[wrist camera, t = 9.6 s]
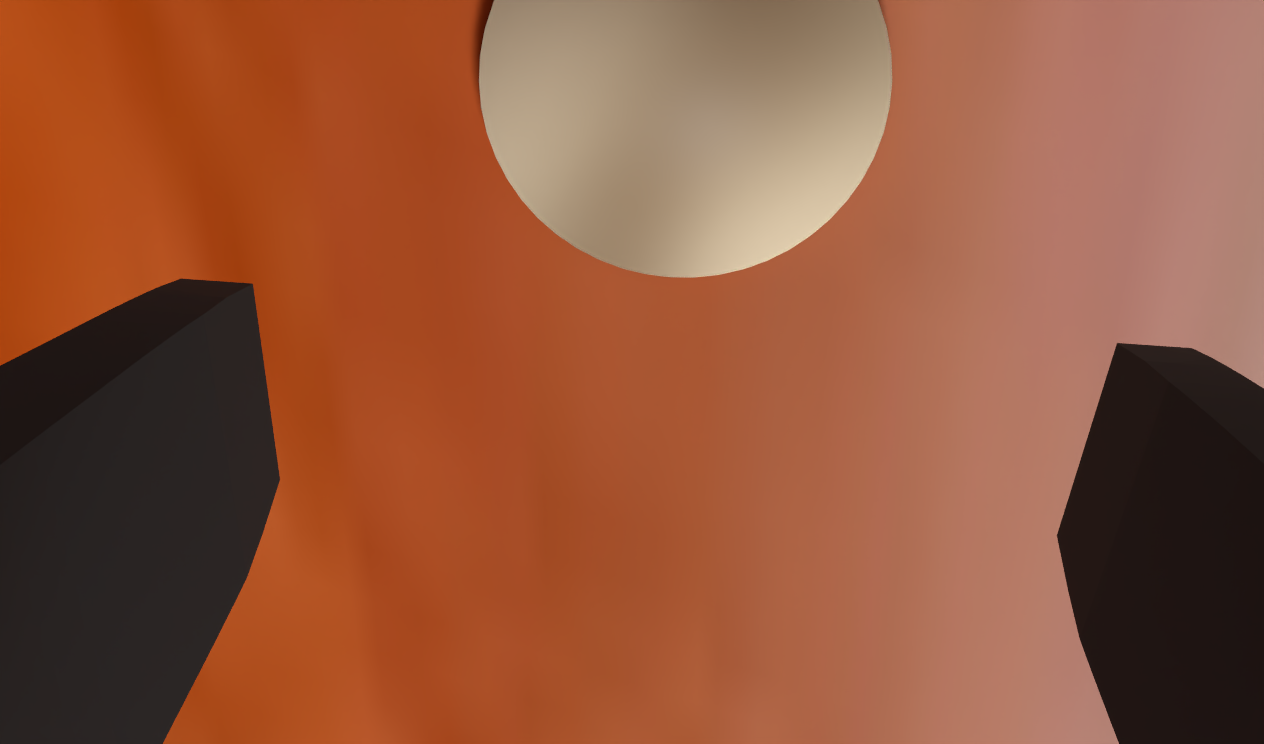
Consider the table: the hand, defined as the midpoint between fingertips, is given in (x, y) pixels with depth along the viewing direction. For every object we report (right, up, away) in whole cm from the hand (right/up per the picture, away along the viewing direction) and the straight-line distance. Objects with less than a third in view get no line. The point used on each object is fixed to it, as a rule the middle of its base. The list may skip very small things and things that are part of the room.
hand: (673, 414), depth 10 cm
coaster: (0, +5, +7) cm, 9 cm away
